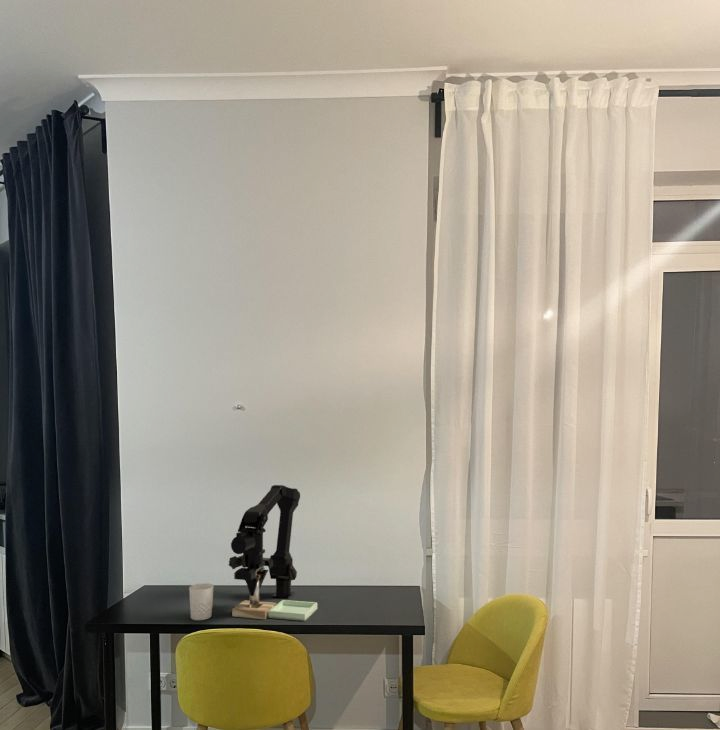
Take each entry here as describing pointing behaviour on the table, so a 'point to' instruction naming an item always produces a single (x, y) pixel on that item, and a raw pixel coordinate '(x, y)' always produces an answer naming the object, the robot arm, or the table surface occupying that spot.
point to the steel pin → (255, 595)
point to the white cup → (201, 601)
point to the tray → (293, 610)
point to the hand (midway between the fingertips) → (254, 594)
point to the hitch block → (252, 610)
